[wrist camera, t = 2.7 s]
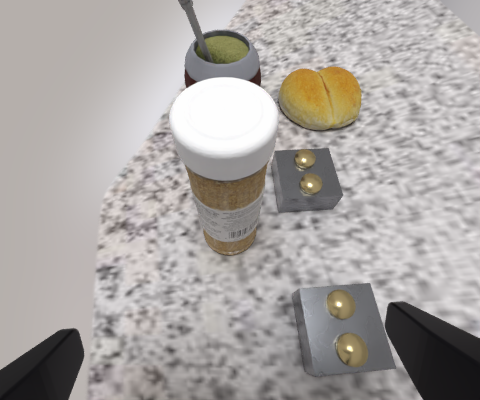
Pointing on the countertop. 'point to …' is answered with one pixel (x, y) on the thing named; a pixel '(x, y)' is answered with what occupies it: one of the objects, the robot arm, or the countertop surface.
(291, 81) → the bread roll
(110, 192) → the countertop surface
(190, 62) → the mate gourd
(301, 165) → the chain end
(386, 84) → the countertop surface
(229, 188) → the sprinkles bottle
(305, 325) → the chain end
